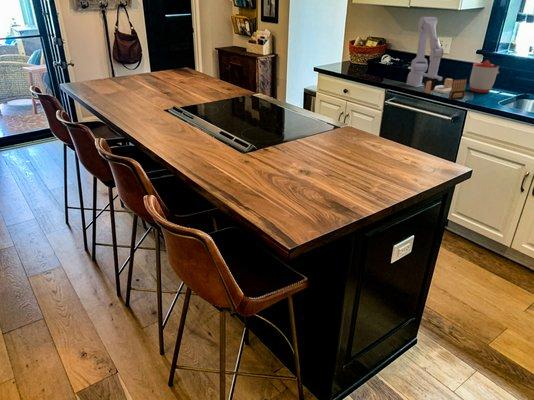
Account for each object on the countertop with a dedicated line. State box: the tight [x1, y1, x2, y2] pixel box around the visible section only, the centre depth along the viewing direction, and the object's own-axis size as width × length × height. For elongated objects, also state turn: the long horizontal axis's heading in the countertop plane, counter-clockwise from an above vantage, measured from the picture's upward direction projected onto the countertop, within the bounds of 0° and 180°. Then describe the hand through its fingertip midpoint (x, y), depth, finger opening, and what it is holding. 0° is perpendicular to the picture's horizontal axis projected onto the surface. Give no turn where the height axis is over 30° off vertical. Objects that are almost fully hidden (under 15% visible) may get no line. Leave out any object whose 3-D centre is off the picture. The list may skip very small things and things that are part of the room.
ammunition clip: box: [448, 78, 467, 101], centre depth 258 cm, size 11×2×12 cm, turn 113°
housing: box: [433, 77, 454, 95], centre depth 279 cm, size 13×14×7 cm
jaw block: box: [424, 80, 434, 94], centre depth 273 cm, size 4×4×7 cm
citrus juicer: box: [469, 59, 500, 94], centre depth 277 cm, size 16×17×20 cm
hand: (429, 89), depth 273 cm, fingers open, 4 cm apart
